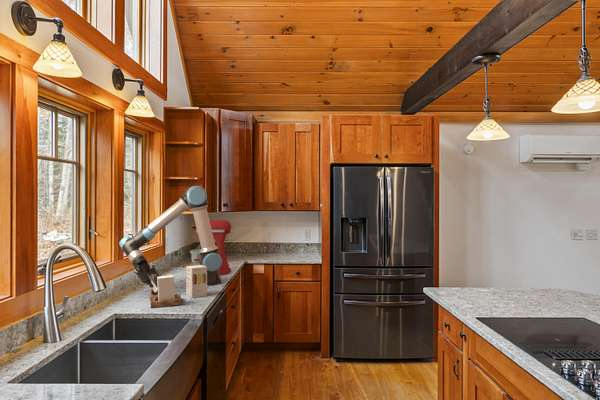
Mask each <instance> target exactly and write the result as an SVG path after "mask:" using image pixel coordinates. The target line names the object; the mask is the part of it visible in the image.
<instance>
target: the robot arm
mask: <svg viewBox="0 0 600 400" xmlns="http://www.w3.org/2000/svg"><path fill="white" fill-rule="evenodd" d="M207 193H208V192H207V191H206V189H204V187H202V186H200V185H193V186H191V187H189V188H188V189H187V190H186V191H185V192H184V193H183V194H182V196H180V197H179V199H178V201H176V202H175V203H173V205H171V206H170V207H169V208H168V209H166V210H165V211H164V212H162V213H160V214H159V215H158V216H157V217H156V218H154V220H152V221H151V222H150V223H149V224H148V225H146V226H145V227H143V228H141V230H139V231H138V233H137V234H136V235H134V236H133V237H131V236H125V237H123V238H122V239H121V240H119V243H118V244H119V246H120V248H121V250H122V252H123V253H124V254H125V256H126V257H127V258H128V260H129V261H130V262H131V263H132V265H133V267H134V268H135V269H134V270H133V273H134V274H136V276H138V278H139V279H140V280H141V282H142V283H143V284H144V285H146V286H149V287H150V288H152V289H153V291H154V292H155V293H156V292H157V291H158V283H157V287H156V285H155V284H154V282H153V281H151V274H157V277H160V276H161V275H160V274H159V273H158V271H157V269H156V268H155V265H154V264H152V265H150V264H149V263H148V260H147V259H146V257H145V256H144V254H143V252H142V251H141V248H142V247H143V246H144V245H146V244H147V243H149V242H150V241H152V240H153V239H154V238H156V234H158V233H160V231H162V230H163V229H164V228H165V227H166V226H168V225H169V224H171V223H172V222H173V221H174V220H176V219H177V218H178V217H179V216H181V214H183V213H184V212H185V211H186V210H189V211H191V212H192V213H193V219H194V222H195V225H196V227H197V231H198V236H199V237H198V236H197V237H198V239H199V243H200V244H201V245H200V244H199V245H200V249H201V248H202V249H201V250H200V265H203V266H206V267H207V286H215V285H219V284H221V283H222V277H221V275H219V272H218V269H219V268H220V267H221V265H222V258H221V256H220V253H219V249H218V247H217V246H216V241H215V239H214V238H213V234H212V230H211V225H210V221H209V220H210V217H209V213H208V206H209V202H208V194H207Z"/></svg>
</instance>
